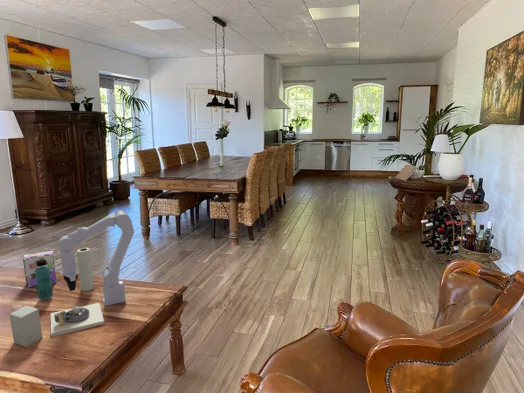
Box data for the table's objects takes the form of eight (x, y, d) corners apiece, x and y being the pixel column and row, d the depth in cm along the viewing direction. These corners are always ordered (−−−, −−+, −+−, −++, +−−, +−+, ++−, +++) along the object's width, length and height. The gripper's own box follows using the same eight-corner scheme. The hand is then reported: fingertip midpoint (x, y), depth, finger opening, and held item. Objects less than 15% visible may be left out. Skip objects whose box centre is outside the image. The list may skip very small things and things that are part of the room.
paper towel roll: (88, 292, 191) (84, 252, 186) (78, 290, 193) (73, 250, 188) (98, 286, 198) (94, 247, 193) (88, 284, 199) (84, 246, 195)
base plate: (99, 305, 178) (98, 292, 176) (104, 324, 162) (102, 310, 161) (51, 316, 168) (49, 302, 167) (51, 336, 153) (49, 322, 152)
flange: (82, 308, 172) (81, 299, 171) (93, 315, 166) (92, 306, 165) (51, 320, 162) (50, 311, 161) (61, 328, 156) (60, 319, 155)
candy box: (26, 288, 195) (22, 258, 192) (27, 283, 200) (23, 254, 197) (56, 282, 201) (53, 253, 198) (56, 278, 206) (53, 250, 203)
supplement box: (43, 337, 153) (39, 308, 150) (25, 347, 146) (21, 317, 143) (31, 333, 156) (26, 305, 153) (13, 342, 149) (8, 313, 146)
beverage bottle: (35, 301, 182) (29, 262, 178) (47, 295, 188) (42, 257, 184) (44, 303, 180) (39, 264, 175) (57, 297, 186) (52, 259, 181)
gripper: (56, 259, 174) (60, 286, 177) (61, 269, 162) (65, 298, 165) (73, 255, 177) (76, 282, 180) (79, 265, 166) (82, 294, 169)
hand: (72, 290), depth 173 cm, fingers closed
